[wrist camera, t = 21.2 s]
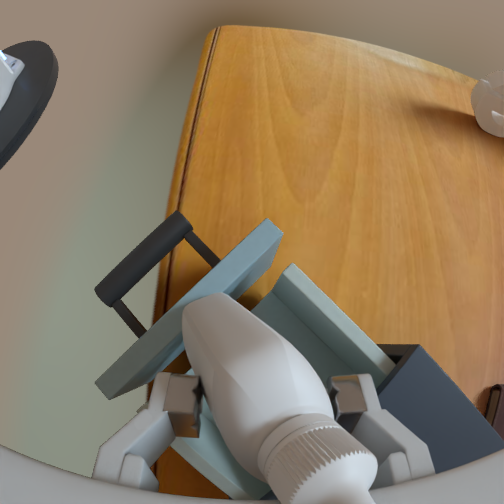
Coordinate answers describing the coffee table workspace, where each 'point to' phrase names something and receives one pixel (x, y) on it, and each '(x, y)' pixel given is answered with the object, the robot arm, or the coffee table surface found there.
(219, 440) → the drawer
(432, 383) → the cabinet
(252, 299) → the coffee table surface
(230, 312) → the eye dropper bottle
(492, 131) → the white double disc plate
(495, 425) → the brown leather sleeve case
